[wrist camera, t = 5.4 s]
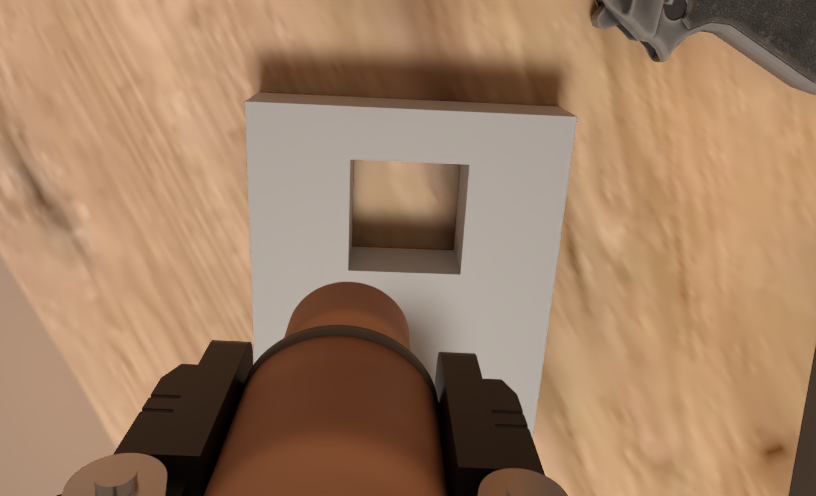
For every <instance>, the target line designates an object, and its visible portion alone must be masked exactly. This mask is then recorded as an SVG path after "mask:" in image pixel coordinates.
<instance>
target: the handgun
mask: <svg viewBox="0 0 816 496" xmlns="http://www.w3.org/2000/svg"><path fill="white" fill-rule="evenodd" d="M595 3H596V6H597V7H598V9H597V10H596V11H595V13H594V14H593V15H592V17H591V22H592V25H593V26H594V27H596V28H610V27H613V26H615V25H616V26H617V27H618V28H619V29H620V30H621V31H622V32H623V33H624V34H625V35H626V37H627V38H628V39H629V40H635V41H640V42H641V43H642V44H643V45H644V46H645V48H646V50H647V53H648V55H649V57H650V58H651V59H652V60H653V61H655V62H664V61H666V60H667V59H668V57H669V56H670V54H671V53H672V51H673V50H674V49H675V47H676V46H677V45H678V44H680V43H681V42H682V41H683V40H684V39H685V38H686V37H687V36H689V35H691V34H694V33H697V32H699V31H702V32H710V33H713V34H715V35H716V36H718V37H719V38H720V39H722V40H723V41H725V42H726V43H728V44H729V45H731V46H732V47H734V48H735V49H736V50H738V51H739V52H741V53H742V54H744V55H745V56H747V57H748V58H750V59H751V60H752V61H754V62H755V63H757V64H758V65H760V66H761V67H763V68H764V69H766V70H767V71H768V72H770V73H771V74H773V75H774V76H776V77H777V78H779V79H780V80H781V81H783V82H784V83H786V84H787V85H789V86H790V87H793V88H796V89H799V90H801V91H804V92H807V93H810V94H814V95H816V0H595Z"/></svg>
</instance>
